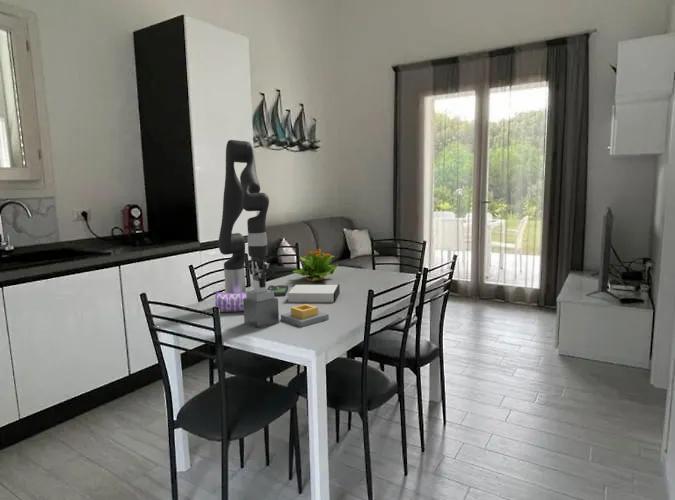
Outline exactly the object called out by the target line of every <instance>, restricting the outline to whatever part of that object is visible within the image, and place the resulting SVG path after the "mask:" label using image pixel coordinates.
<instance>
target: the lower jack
mask: <svg viewBox="0 0 675 500" xmlns="http://www.w3.org/2000/svg"><path fill="white" fill-rule="evenodd" d="M280 320H282V321H284V322H287V323H290V324H292V325H294V326H298V327H300V328H303V327H306V326H309V325H312V324H317V323H319V322H323V321H327V320H330V319H329V313H326V312H322V311H320V310H319V307H318V306H314V305H311V304H309V303H303V304H300V305H296V306H291V307H290V312H286V313H282V314H280Z"/></svg>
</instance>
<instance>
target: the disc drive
mask: <svg viewBox="0 0 675 500" xmlns="http://www.w3.org/2000/svg"><path fill="white" fill-rule="evenodd" d="M340 286H341V285H340V284H339V283H338V284H295V285H294V286H293V287H292V289H291V290H290V291H288V292H287V293H288V294H287V295H288V296H287V298H288V299H287V300H288V303H336V302H337V300H338V297H339V295H340V293H341V292H340V290H341V289H340V288H341V287H340Z"/></svg>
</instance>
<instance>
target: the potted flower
mask: <svg viewBox="0 0 675 500" xmlns="http://www.w3.org/2000/svg"><path fill="white" fill-rule="evenodd" d="M307 256H308V257H307ZM335 257H336V256H335V255H331V254H330V253H324V252H322V248H318V249H317V251H314V252H313V251H311V250H309V251H307V252H306V253H305V256H303V257H302V256H299V259H300V260H301V262H302V263H303V267H302V268H300V269H296V270H292V273H295V274H298V275H300V276H306V280H307V281H309V282H312V283H314V282H319V281H320V282H321V281H323V280H324V278H325V277H327V275H334V272H335V270H336V269H337V268H338V266H339V264H337V263H336V264H332V265H329V264H330V263H332V262H333V258H335Z"/></svg>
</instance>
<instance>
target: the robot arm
mask: <svg viewBox="0 0 675 500" xmlns="http://www.w3.org/2000/svg"><path fill="white" fill-rule="evenodd" d="M225 147H226V148H225V176H224V177H225V180H224V189H223V197H222V198H223V200H222V216H221V217H222V218H221V226H220V231H219V237H218V249H219V252H220V254H222V255H224V256H225V255H232V256H231V257H230V258H229V259H227V261H225V262H224V263H223V271H224V273H223V274H224V293H243V292H247V290H246V287H247V286H246V276H245V275H246V274H245V263H247V266H248V271H249V274H250V275H252V277H253V276H255V275H259V278H260V279H259V283H260V288H263V287H265V278H266V279H267V278H268V277H269V275H270V271H271V270H270V269H271V263H268V262H267V260H266V256H268V254H269V252H268V250H269V249H268V236H267V229H266V228H267V225H266V222H267V221H266V220H267V214H268V210H269V205H270V198H269V196H268V194H267V193H266V192H260V191H261V185H260V182H259V179H258V175H257V170H256V169H257V168H256V160H255V159H256V158H255V152H254V147H253V144H252V143H251V142H250V141H248V140H238V139H237V140H236V139H229V140H228V141H227V143H226V146H225ZM235 163H240V164H241V163H242V164H246V165H245V166H244V168H243V170H242V171H241V172H240V175H239V177H238V175H237V172H236V170H235ZM243 210H245V211H246V212H258V214H257V215H255V216H253V217H249V218H248V219H247V220H246V221H247V222H246V225H247V254H248V256H249V257H250V259H247V261H246V241H245V238H244V236H243V234H242V233H240V232H235V233H233V228H234V226H235V224H236V222H237V220H238V218H239V217H240V216H241V214H242V212H243Z"/></svg>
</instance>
